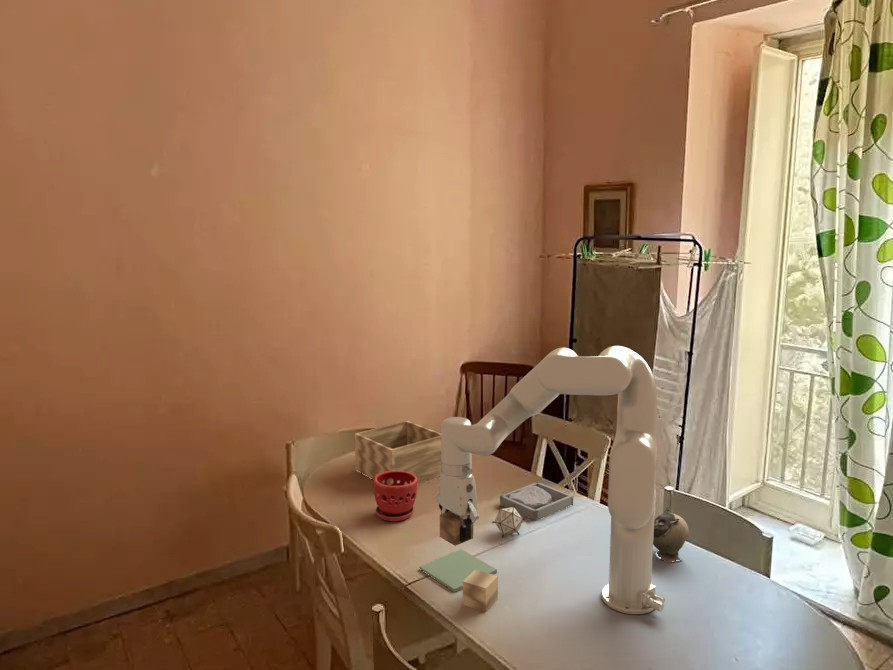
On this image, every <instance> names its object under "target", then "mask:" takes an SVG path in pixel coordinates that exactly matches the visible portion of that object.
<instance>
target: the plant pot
mask: <svg viewBox="0 0 893 670" xmlns="http://www.w3.org/2000/svg"><path fill="white" fill-rule="evenodd" d="M388 479H393V484H391V485H388V484H387V480H388ZM398 480H399V481H400V483H397V481H398ZM383 481H385V482H384V483H383ZM410 481H411V482H412V483H411V482H410ZM405 482H407V483H408V484H407V485H405ZM373 494H374V495H373V496H374V500H375V502H376V508H375V513H376V515H377V517H378V518H380V519H382V520H385V521H389V522H401V521H403V520H406V519H409V518H410V517H411V516H412V515H414V512H415V508H414V505H415V502H416V498H417V494H418V483H417V477H416V476H415V475H413V474H411V473H409V472H404V471H387V472H383V473H380V474H378V475H376V476H375V478H374V481H373Z"/></svg>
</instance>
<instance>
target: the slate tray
mask: <svg viewBox="0 0 893 670" xmlns="http://www.w3.org/2000/svg"><path fill="white" fill-rule="evenodd" d="M527 486H536V487H539V488H542V489H543V490H545V491H546V492H548V493H549V494H550V495H551V498H552V499H553V500H555V501H551V503H550V504H548V505H545V506H543V507H540V508H538V509H533V508H531V507H528V506H526V505H524V504H522V503H519V502H517V501H515V500H512V499H510V498H509V496H510V494H512V493H514V494H515V493H518V492H519V491H520V490H522V489H523V488H525V487H527ZM514 504H515V509H516V510H517V511H518V513H519V514H520V515H521V516H522V517H524V518H526V519H528V520H532V521H533V522H537V521H539V520H541V518H542V519H544V518H547V517H548V515H549V516H550V514H551V515H553V514H556V513H558V512H560V511H563V510H565V509H567V508H569V507H568V506H570V505H572V506H574V495H572V494H569V493H567V492H564V491H561V490H558V489H556V488H554V487H552V486H549V485H547V484H544V483H542V482H538V481H535V482H533V483H531V484H528V485H526V486H523V487H520V488H517V489H515V490H512V491H510V492H506V493H504V494H502V495H500V496H499V506H502V507H503V506H504V507H503V508H509V507H513V506H514ZM566 507H567V508H566ZM570 507H571V506H570ZM564 508H565V509H564ZM562 509H563V510H562ZM559 510H560V511H559ZM557 511H558V512H557ZM555 512H556V513H555ZM543 517H544V518H543Z"/></svg>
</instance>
